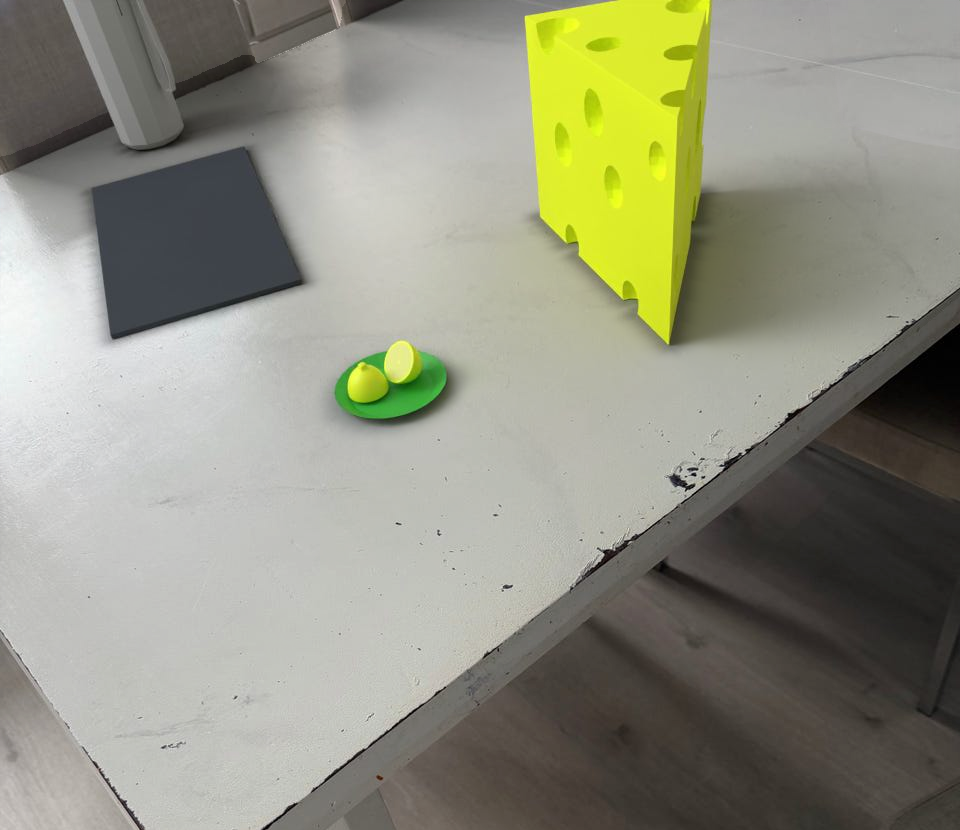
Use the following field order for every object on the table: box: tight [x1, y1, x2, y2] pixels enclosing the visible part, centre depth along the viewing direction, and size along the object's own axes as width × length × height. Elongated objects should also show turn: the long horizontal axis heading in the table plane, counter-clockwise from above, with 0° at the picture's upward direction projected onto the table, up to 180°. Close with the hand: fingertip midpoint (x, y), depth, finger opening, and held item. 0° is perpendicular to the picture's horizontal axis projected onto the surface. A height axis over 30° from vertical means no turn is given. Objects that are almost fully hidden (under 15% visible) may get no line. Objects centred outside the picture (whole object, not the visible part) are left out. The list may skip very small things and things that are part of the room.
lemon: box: [334, 340, 448, 419], centre depth 63 cm, size 8×8×3 cm
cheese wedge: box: [524, 0, 713, 346], centre depth 66 cm, size 19×20×15 cm
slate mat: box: [91, 145, 303, 340], centre depth 83 cm, size 30×16×1 cm, turn 19°
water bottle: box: [62, 0, 185, 151], centre depth 89 cm, size 9×8×25 cm
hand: (109, 1), depth 87 cm, fingers closed
